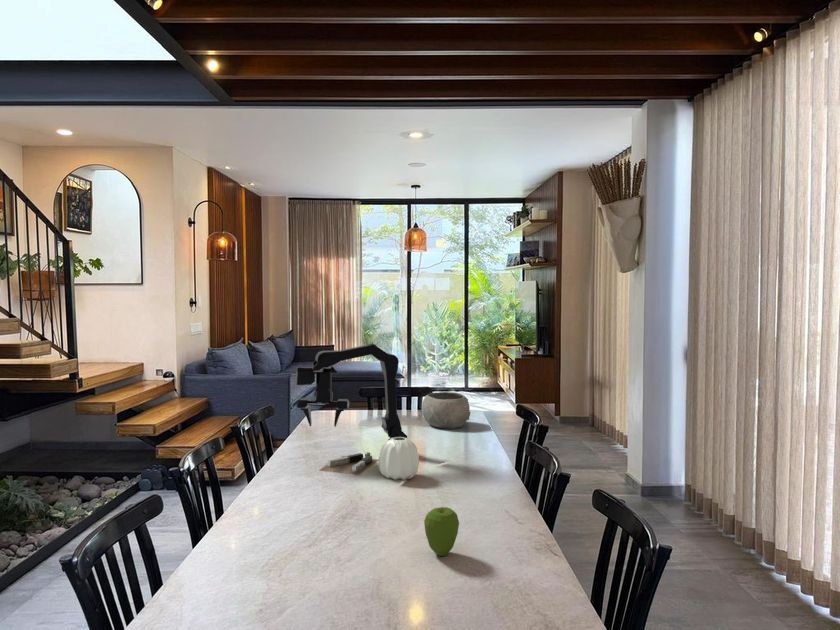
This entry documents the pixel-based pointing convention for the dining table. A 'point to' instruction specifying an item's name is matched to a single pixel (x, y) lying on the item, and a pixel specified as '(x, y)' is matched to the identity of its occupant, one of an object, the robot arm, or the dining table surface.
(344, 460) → the bar
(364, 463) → the tongs fixed
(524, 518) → the dining table surface
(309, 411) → the robot arm
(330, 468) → the board
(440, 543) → the apple
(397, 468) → the vase
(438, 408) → the bowl
